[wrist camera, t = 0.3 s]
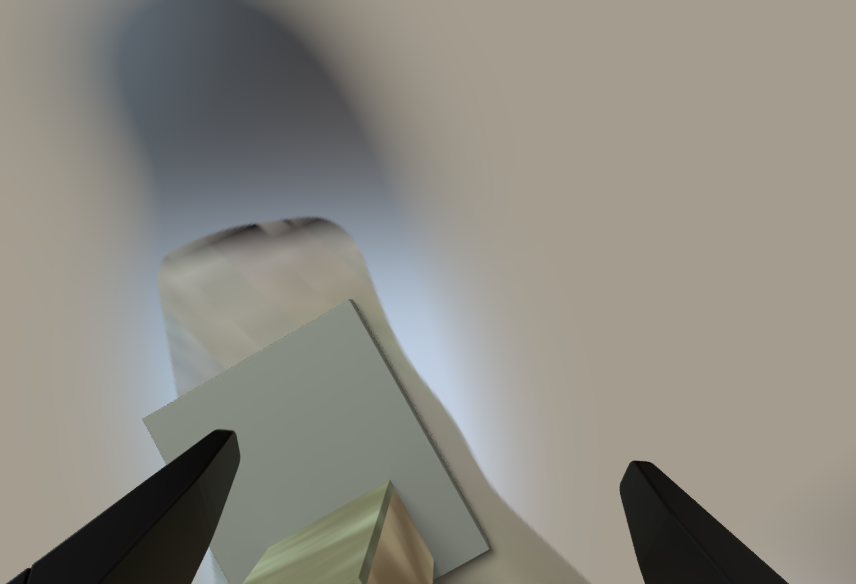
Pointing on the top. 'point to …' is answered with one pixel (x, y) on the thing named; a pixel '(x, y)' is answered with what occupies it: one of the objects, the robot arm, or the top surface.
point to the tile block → (352, 547)
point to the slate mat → (318, 444)
